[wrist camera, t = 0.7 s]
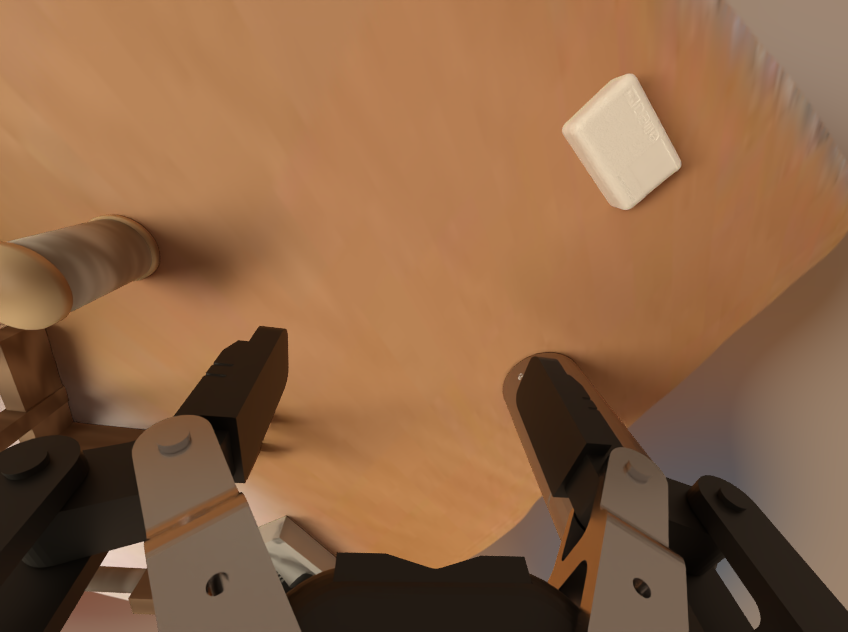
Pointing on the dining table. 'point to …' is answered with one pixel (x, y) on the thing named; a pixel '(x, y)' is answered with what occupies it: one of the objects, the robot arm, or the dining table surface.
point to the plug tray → (294, 550)
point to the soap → (622, 142)
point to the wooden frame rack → (59, 433)
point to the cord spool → (71, 269)
